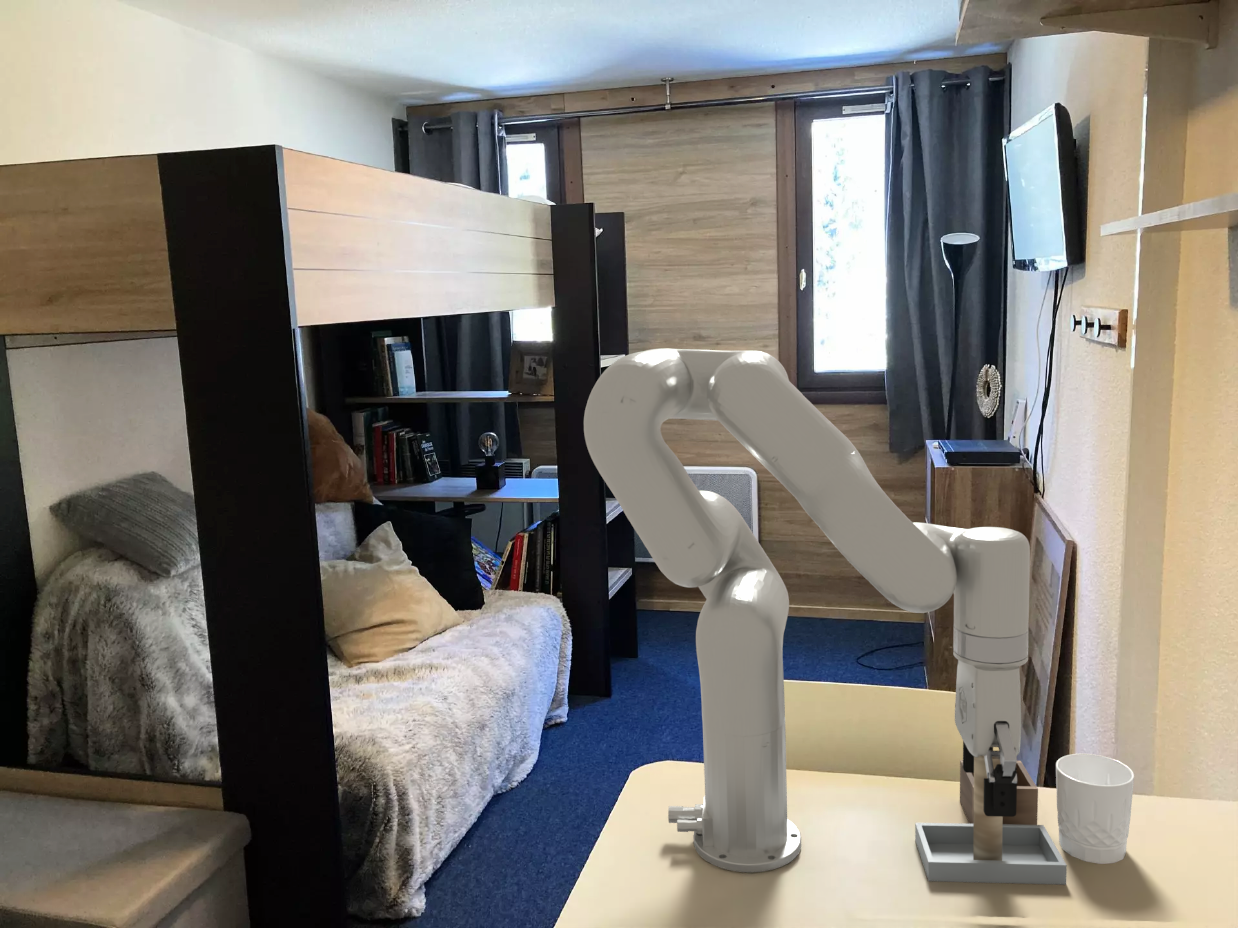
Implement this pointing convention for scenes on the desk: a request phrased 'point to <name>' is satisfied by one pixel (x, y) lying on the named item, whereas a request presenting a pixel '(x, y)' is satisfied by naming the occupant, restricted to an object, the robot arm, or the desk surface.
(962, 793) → the pen pot
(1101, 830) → the white cup
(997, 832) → the dowel
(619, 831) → the desk surface
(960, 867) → the tray
